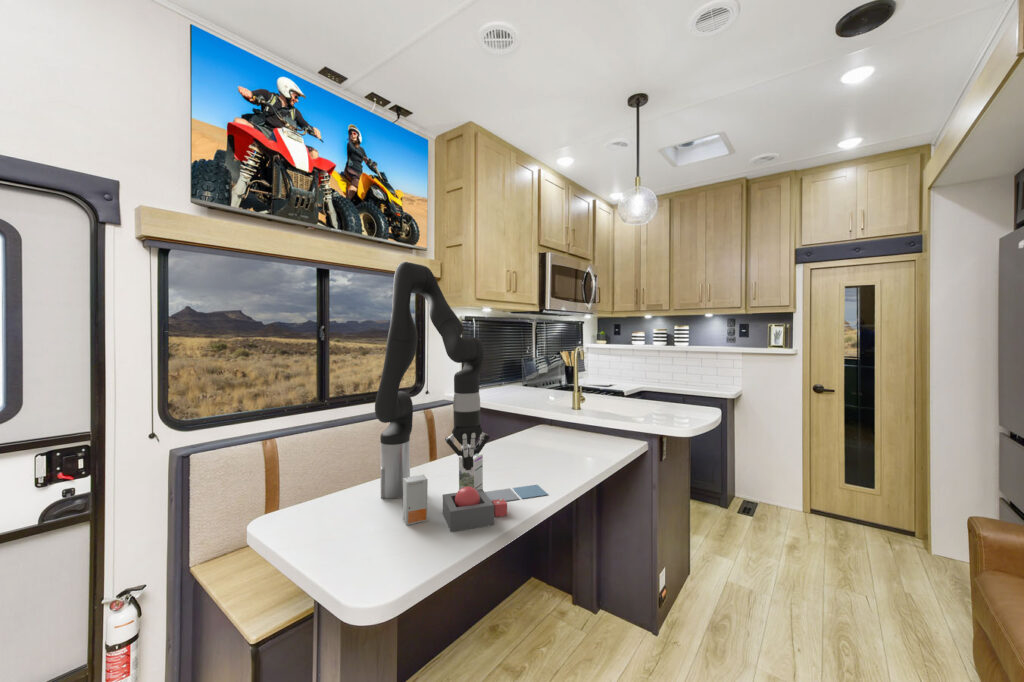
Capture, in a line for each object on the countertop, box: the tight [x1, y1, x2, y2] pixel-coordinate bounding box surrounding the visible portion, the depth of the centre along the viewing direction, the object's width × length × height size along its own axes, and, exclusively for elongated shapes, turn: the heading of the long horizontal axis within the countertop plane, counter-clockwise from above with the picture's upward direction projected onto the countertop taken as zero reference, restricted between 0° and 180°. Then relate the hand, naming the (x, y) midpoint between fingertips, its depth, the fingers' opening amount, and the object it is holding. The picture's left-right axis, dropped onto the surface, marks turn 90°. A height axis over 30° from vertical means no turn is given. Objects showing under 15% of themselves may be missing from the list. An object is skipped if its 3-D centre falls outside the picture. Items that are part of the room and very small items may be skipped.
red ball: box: [455, 486, 480, 507], centre depth 114 cm, size 7×7×7 cm
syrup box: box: [458, 453, 484, 491], centre depth 127 cm, size 6×6×14 cm
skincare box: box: [402, 474, 428, 526], centre depth 114 cm, size 6×4×12 cm
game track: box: [484, 484, 549, 502], centre depth 130 cm, size 30×9×1 cm, turn 110°
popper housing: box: [442, 488, 508, 533], centre depth 115 cm, size 17×12×6 cm
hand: (467, 469), depth 114 cm, fingers closed
